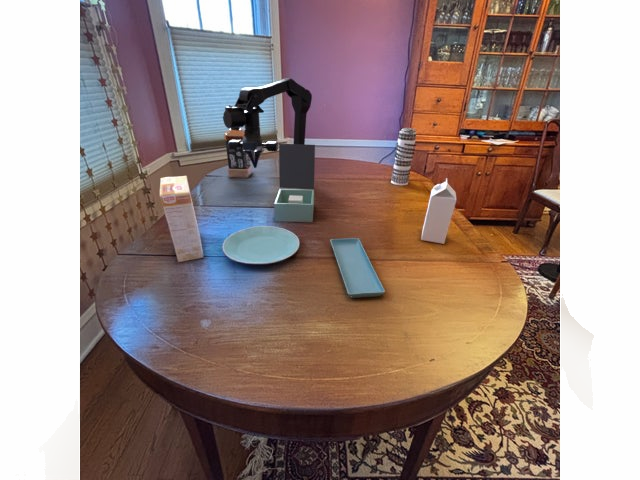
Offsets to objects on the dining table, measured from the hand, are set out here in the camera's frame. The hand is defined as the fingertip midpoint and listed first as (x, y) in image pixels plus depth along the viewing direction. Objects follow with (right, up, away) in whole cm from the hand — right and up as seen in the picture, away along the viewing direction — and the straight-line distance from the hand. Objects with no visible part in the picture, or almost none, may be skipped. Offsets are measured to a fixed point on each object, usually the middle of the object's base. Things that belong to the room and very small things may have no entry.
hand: (255, 167), depth 121 cm
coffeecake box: (-13, -34, -32) cm, 48 cm away
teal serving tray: (+35, -40, -39) cm, 66 cm away
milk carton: (+64, -30, -22) cm, 74 cm away
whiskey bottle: (-14, +6, +32) cm, 35 cm away
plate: (+9, -34, -32) cm, 48 cm away
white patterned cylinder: (+66, 0, +27) cm, 71 cm away
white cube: (+17, -18, -8) cm, 26 cm away
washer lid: (+17, -2, -8) cm, 19 cm away
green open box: (+17, -20, -8) cm, 27 cm away
